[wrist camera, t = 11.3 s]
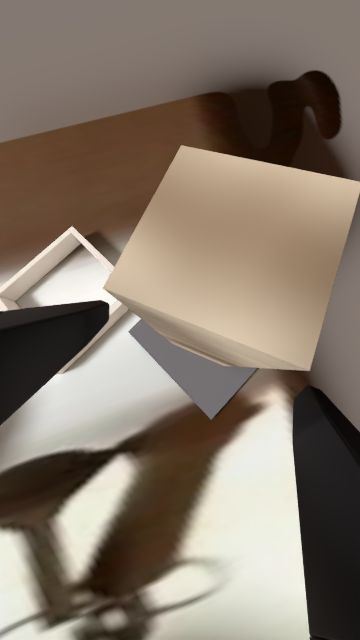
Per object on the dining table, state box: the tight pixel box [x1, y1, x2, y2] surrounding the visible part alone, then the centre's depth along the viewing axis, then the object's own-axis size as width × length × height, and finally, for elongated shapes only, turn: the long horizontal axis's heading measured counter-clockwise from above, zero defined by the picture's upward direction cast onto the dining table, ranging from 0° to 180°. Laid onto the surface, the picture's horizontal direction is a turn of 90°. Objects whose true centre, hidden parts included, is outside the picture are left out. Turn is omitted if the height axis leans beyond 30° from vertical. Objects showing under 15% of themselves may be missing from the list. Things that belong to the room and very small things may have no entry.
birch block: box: [103, 145, 360, 371], centre depth 11 cm, size 5×5×13 cm
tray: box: [0, 227, 129, 374], centre depth 19 cm, size 11×11×2 cm
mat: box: [128, 319, 257, 420], centre depth 17 cm, size 11×11×1 cm
